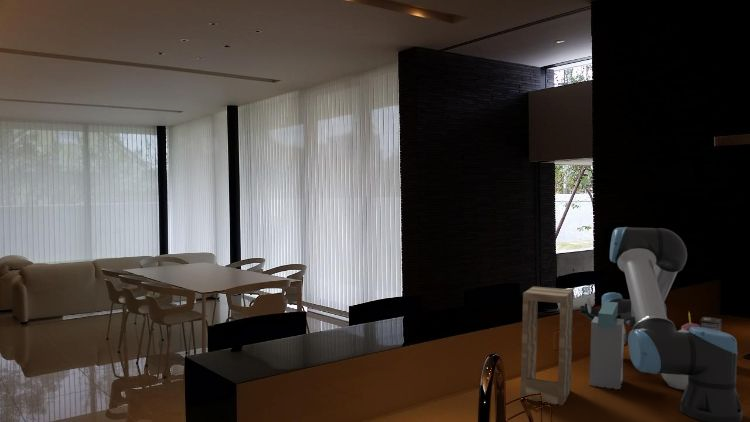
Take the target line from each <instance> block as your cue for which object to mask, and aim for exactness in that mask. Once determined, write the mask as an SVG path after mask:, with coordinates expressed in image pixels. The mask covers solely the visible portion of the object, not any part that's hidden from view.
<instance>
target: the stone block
mask: <svg viewBox="0 0 750 422" xmlns="http://www.w3.org/2000/svg"><path fill="white" fill-rule="evenodd" d="M624 345H625V344H624V319H615V322H614V324H613V326H612V328H610V327H600V326H598V317H594V319H593V320H592V321H591V322H590V352H589V354H590V355H589V356H590V357H589V358H590V359H589V360H590V361H589V386H590V385H591V387H597V386H598V388H604V387H606V389H611V388H614V389H613V390H618V389H620V388H622V385H621V384H623V379H624V378H623V376H624V375H623V374H624V373H623V370H624ZM620 390H621V389H620Z"/></svg>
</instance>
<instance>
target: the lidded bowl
mask: <svg viewBox="0 0 750 422" xmlns="http://www.w3.org/2000/svg"><path fill="white" fill-rule="evenodd" d="M661 377H662V378H663V380H664V381H665V382H666V384H667V385H668V387H670V388H674V389H677V390H683V391H685V388H686V386H687V384H688V375H676V374H661Z"/></svg>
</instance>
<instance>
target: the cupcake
mask: <svg viewBox="0 0 750 422" xmlns="http://www.w3.org/2000/svg"><path fill="white" fill-rule="evenodd" d="M687 315H688V321H689V322H687V323H684V324H682V325H681V326H680V328H681V329H680V330H686V331H689V329H690V327H700V324H698V323H693V322H692V318H691V313H690V312H688V314H687Z"/></svg>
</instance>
